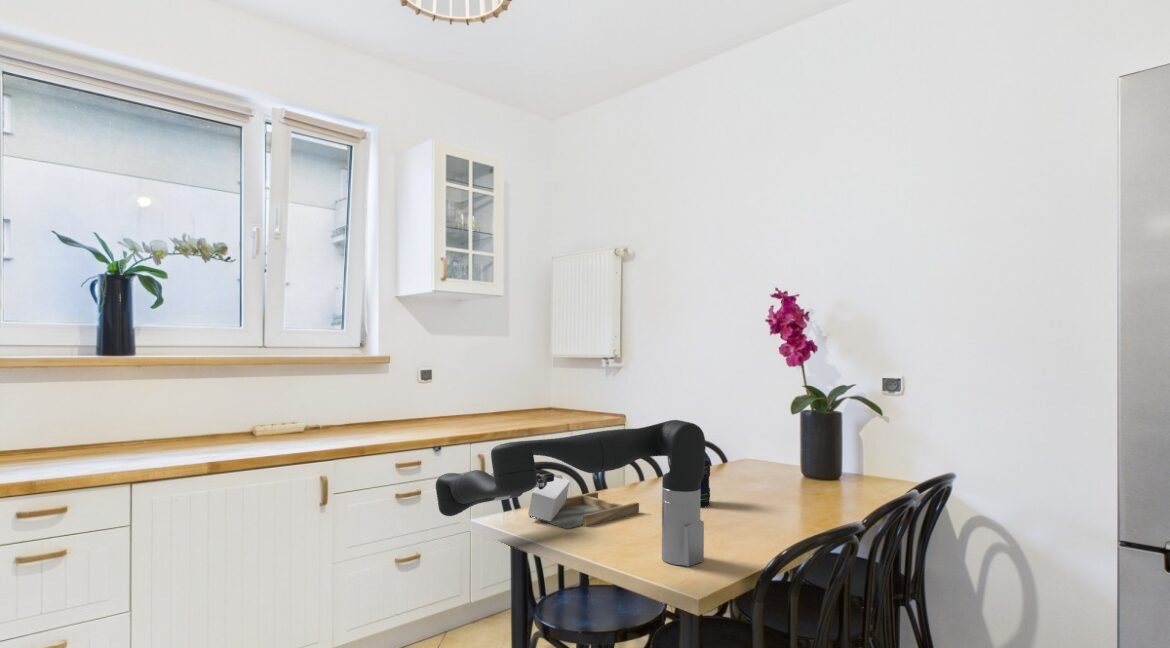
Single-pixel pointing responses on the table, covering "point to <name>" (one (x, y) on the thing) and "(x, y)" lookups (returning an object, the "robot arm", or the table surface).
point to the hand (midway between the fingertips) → (552, 477)
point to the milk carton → (549, 498)
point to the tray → (589, 511)
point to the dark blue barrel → (705, 485)
